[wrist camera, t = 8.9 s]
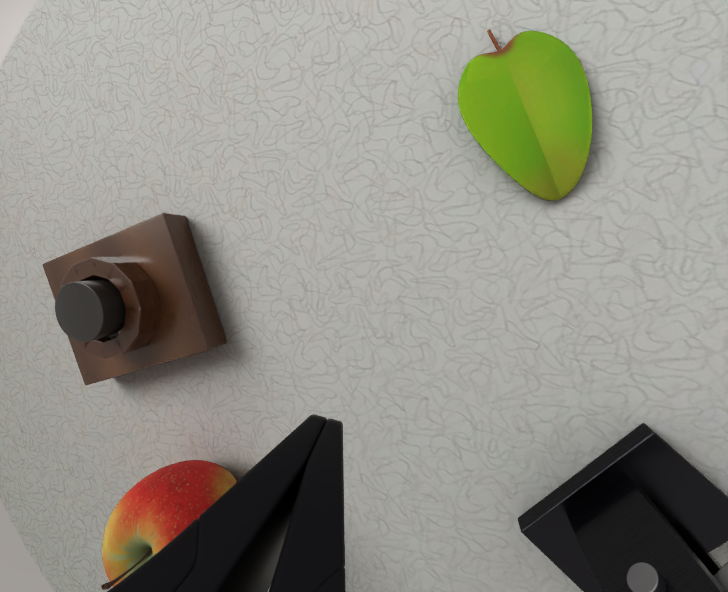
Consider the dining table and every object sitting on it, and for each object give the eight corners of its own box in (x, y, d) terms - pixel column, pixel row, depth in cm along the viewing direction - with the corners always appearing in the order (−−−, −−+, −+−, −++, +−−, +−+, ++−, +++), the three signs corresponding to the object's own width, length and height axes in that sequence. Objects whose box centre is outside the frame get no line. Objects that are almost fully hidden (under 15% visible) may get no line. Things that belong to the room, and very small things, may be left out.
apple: (174, 514, 30) (46, 637, 21) (179, 427, 29) (45, 515, 19) (259, 543, 29) (163, 692, 19) (268, 452, 27) (170, 562, 18)
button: (92, 341, 25) (67, 348, 24) (73, 288, 25) (46, 291, 24) (134, 328, 24) (111, 333, 23) (115, 272, 24) (90, 274, 23)
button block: (110, 376, 30) (60, 394, 26) (70, 263, 30) (14, 265, 26) (227, 342, 27) (190, 357, 23) (185, 215, 26) (141, 209, 23)
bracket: (643, 422, 21) (774, 537, 13) (739, 508, 20) (947, 690, 12) (517, 518, 24) (555, 669, 15) (600, 597, 23) (689, 801, 14)
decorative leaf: (612, 42, 19) (622, 31, 18) (571, 205, 20) (578, 202, 20) (470, 29, 20) (473, 17, 20) (438, 183, 21) (439, 180, 21)
